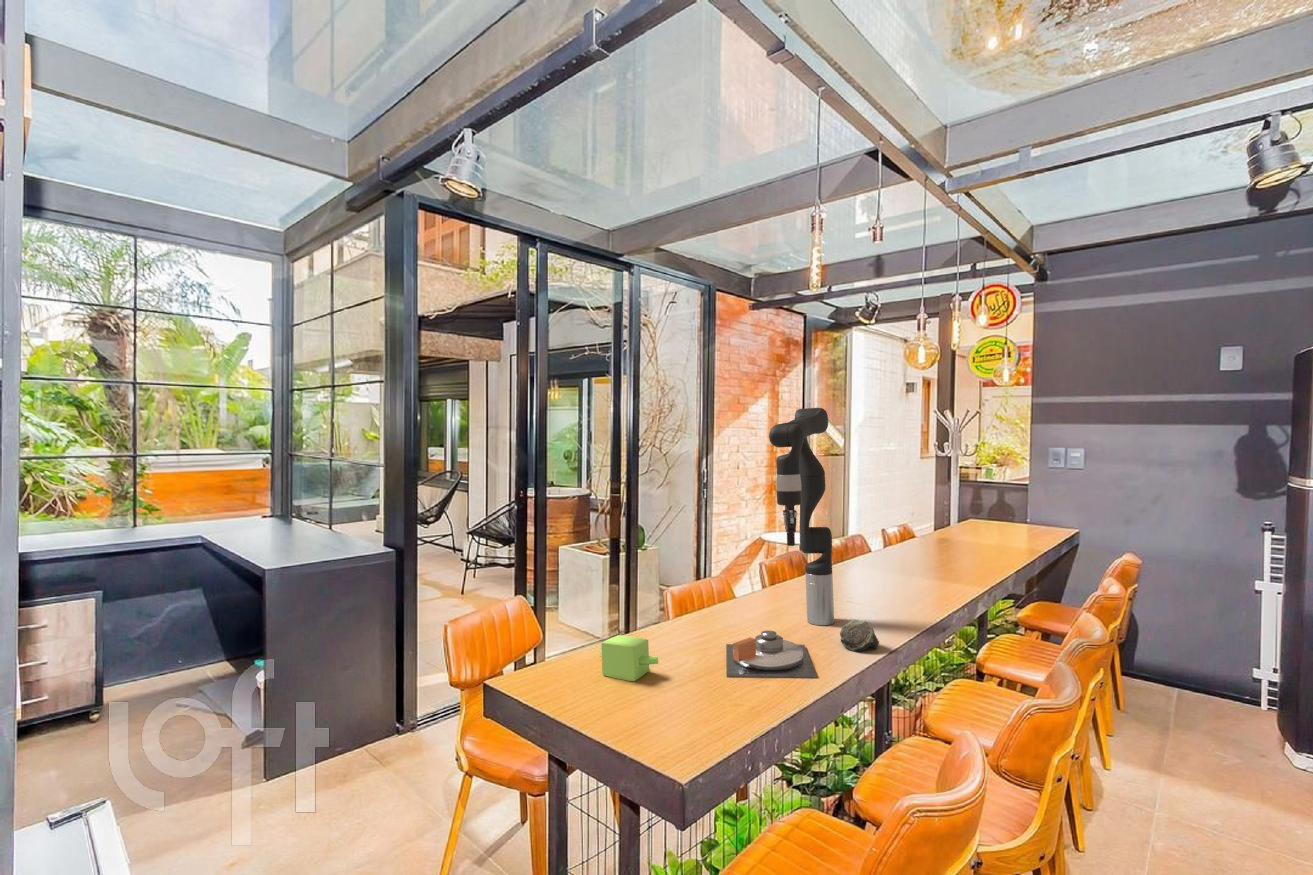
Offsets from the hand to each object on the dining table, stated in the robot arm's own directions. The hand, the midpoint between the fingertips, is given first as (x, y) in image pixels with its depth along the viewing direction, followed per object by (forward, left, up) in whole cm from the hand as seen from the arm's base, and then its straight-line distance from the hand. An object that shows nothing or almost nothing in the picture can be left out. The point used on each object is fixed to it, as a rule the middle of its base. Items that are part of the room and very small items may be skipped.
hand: (791, 545), depth 180 cm
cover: (+9, -8, -28) cm, 31 cm away
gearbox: (+20, -48, -32) cm, 61 cm away
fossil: (-2, +19, -32) cm, 38 cm away
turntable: (+11, -10, -31) cm, 34 cm away
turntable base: (+10, -9, -32) cm, 35 cm away
